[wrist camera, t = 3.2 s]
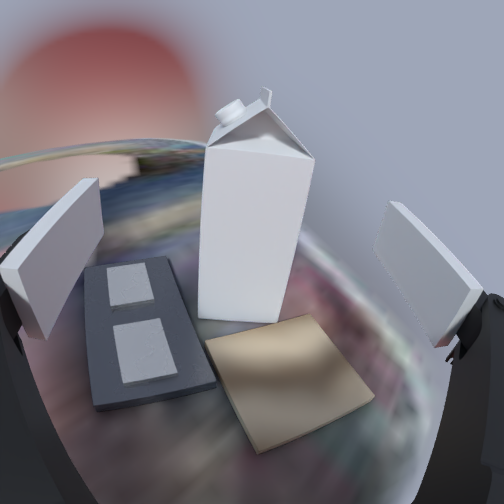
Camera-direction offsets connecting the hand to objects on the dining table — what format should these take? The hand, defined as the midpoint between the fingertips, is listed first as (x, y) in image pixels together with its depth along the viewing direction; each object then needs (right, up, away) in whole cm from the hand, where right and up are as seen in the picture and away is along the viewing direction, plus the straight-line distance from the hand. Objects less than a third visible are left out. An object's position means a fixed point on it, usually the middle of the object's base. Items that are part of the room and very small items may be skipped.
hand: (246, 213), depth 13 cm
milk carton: (-1, -6, +17) cm, 18 cm away
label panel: (-10, -8, +12) cm, 17 cm away
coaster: (+3, -11, +9) cm, 15 cm away
